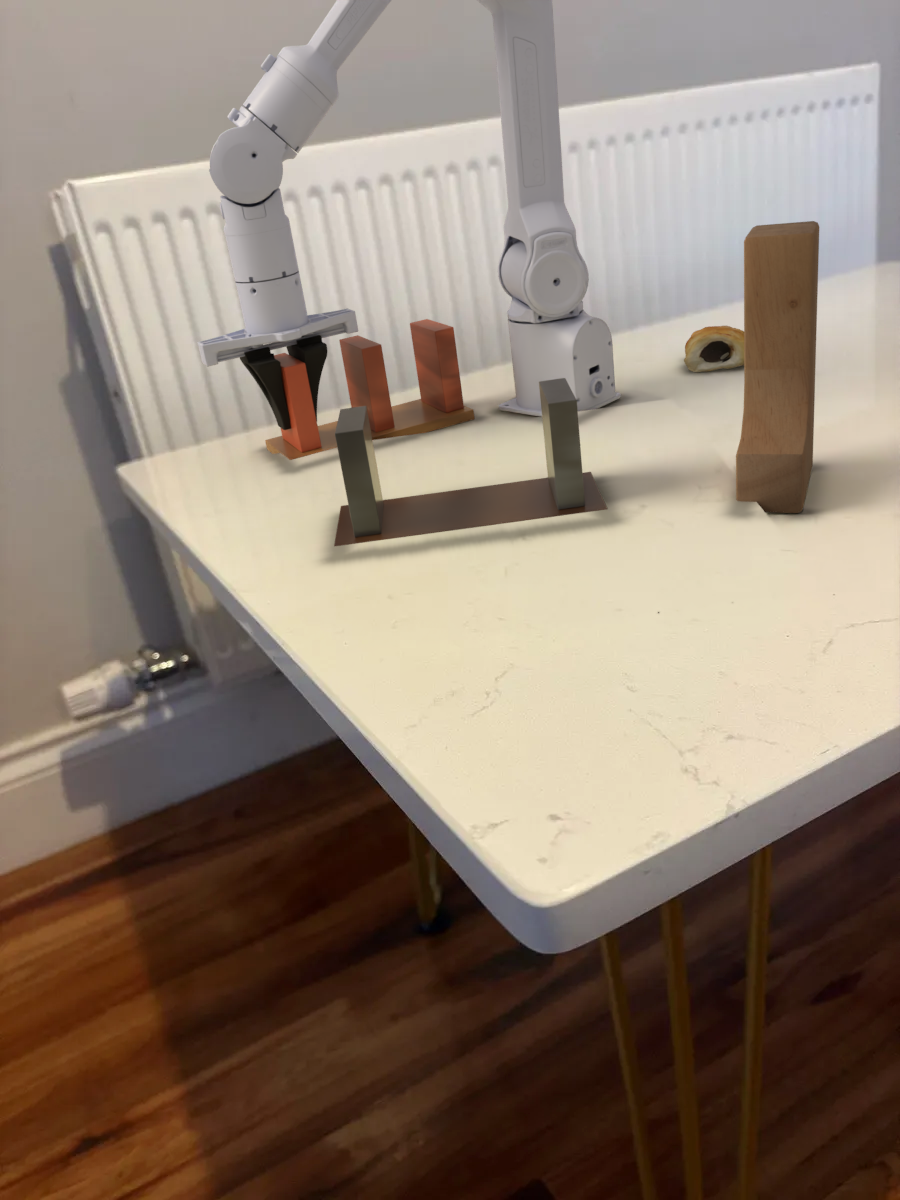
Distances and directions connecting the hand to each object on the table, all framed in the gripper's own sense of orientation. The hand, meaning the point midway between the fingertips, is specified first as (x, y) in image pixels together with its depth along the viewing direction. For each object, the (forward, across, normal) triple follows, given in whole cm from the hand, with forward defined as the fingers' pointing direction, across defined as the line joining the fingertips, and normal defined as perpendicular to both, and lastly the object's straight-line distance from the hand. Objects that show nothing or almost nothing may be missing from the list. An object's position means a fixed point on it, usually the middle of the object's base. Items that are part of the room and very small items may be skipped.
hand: (297, 423), depth 97 cm
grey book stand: (+3, +5, -26) cm, 27 cm away
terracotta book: (+2, 0, 0) cm, 2 cm away
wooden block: (+3, +24, -38) cm, 45 cm away
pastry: (+3, +44, -7) cm, 44 cm away
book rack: (+3, +8, 0) cm, 8 cm away
